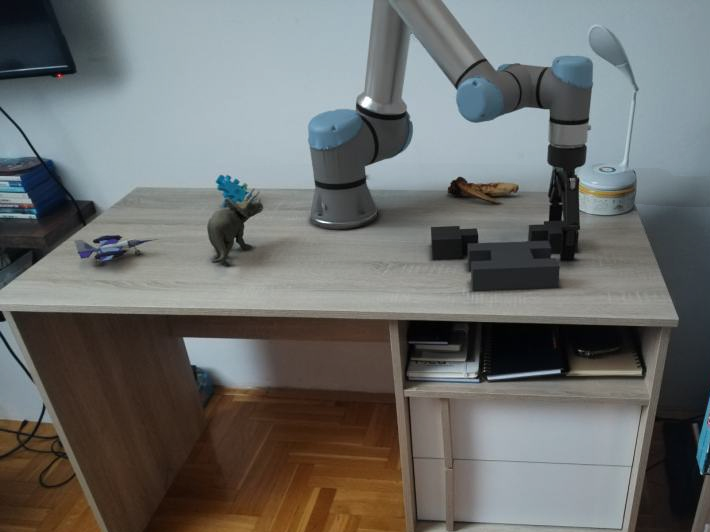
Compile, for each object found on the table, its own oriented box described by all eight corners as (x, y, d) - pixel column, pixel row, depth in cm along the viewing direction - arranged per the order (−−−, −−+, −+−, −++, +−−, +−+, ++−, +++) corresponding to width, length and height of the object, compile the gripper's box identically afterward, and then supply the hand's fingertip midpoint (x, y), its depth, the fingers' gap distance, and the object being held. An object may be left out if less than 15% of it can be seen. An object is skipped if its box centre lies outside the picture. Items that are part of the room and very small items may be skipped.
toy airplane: (167, 249, 137) (162, 233, 136) (114, 276, 127) (109, 259, 125) (120, 241, 142) (116, 225, 140) (66, 266, 131) (60, 250, 129)
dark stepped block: (526, 241, 139) (527, 221, 137) (570, 239, 140) (571, 220, 138) (531, 254, 133) (532, 234, 131) (577, 252, 134) (579, 232, 132)
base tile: (467, 263, 130) (467, 243, 128) (546, 260, 131) (548, 240, 128) (472, 291, 120) (472, 269, 117) (558, 287, 120) (559, 266, 118)
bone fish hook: (445, 205, 160) (518, 205, 158) (444, 187, 157) (518, 186, 156) (448, 191, 168) (518, 191, 166) (447, 174, 165) (518, 173, 164)
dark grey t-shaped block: (431, 246, 138) (430, 226, 135) (476, 244, 138) (476, 225, 136) (432, 259, 132) (431, 239, 129) (479, 258, 132) (479, 238, 130)
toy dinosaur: (221, 281, 124) (208, 225, 118) (181, 277, 126) (167, 222, 120) (271, 237, 143) (263, 187, 137) (236, 234, 144) (226, 185, 138)
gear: (242, 208, 154) (210, 176, 152) (228, 224, 156) (197, 193, 155) (264, 199, 164) (235, 169, 162) (250, 214, 166) (222, 185, 165)
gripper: (602, 161, 115) (592, 269, 126) (573, 127, 136) (566, 223, 147) (561, 162, 115) (553, 271, 126) (537, 129, 136) (533, 224, 147)
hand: (560, 245), depth 137 cm, fingers open, 13 cm apart
